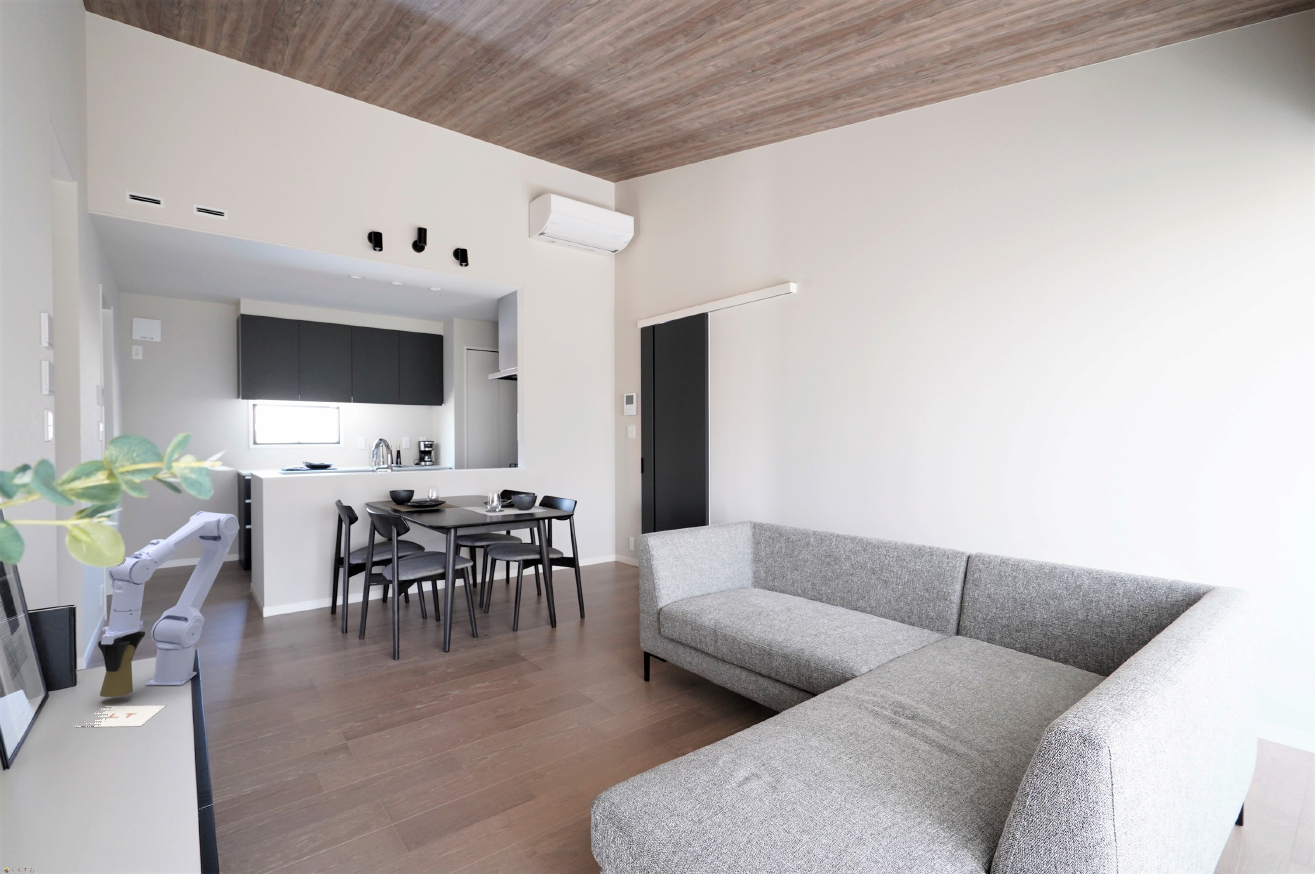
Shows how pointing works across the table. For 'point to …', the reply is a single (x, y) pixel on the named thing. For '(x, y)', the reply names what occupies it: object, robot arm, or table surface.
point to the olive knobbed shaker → (119, 677)
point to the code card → (127, 716)
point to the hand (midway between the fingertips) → (118, 667)
